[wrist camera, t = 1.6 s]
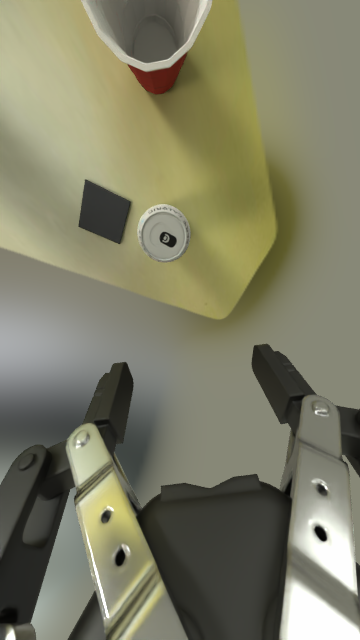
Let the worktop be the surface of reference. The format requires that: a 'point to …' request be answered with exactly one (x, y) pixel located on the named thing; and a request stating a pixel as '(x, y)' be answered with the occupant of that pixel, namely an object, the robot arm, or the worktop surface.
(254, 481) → the robot arm
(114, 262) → the worktop surface
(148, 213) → the energy drink can
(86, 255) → the worktop surface
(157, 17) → the plastic cup
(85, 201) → the coaster
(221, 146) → the worktop surface
